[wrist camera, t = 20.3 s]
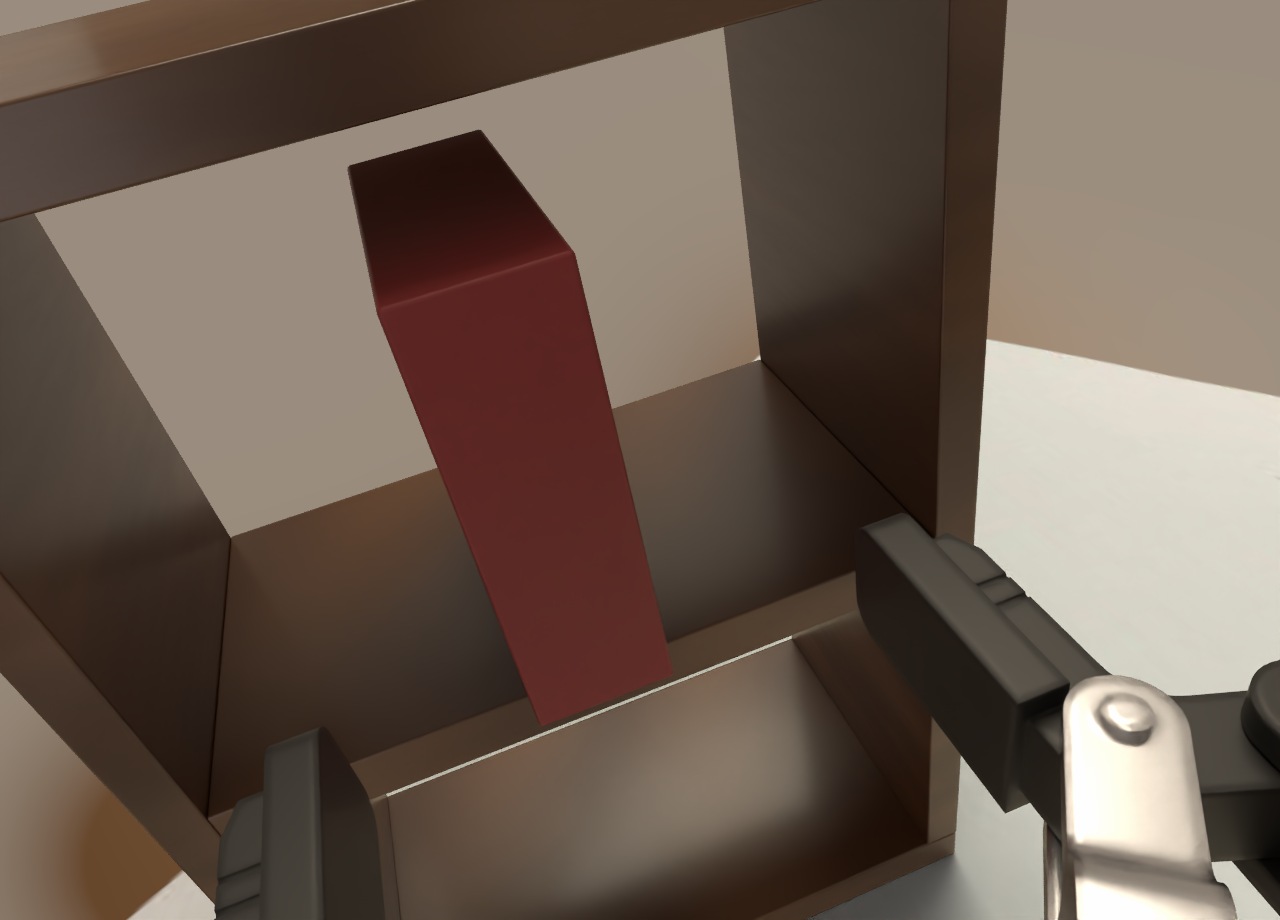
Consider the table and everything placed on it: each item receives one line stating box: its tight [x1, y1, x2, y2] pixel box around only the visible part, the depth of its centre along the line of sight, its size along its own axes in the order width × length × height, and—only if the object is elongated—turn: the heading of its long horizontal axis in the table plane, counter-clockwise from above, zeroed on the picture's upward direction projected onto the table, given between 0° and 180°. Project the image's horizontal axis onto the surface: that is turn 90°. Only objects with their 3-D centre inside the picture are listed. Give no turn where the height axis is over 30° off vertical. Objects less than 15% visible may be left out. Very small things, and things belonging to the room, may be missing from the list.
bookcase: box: [0, 0, 1007, 920], centre depth 27 cm, size 21×11×32 cm, turn 109°
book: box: [348, 130, 674, 726], centre depth 21 cm, size 3×9×11 cm, turn 19°
